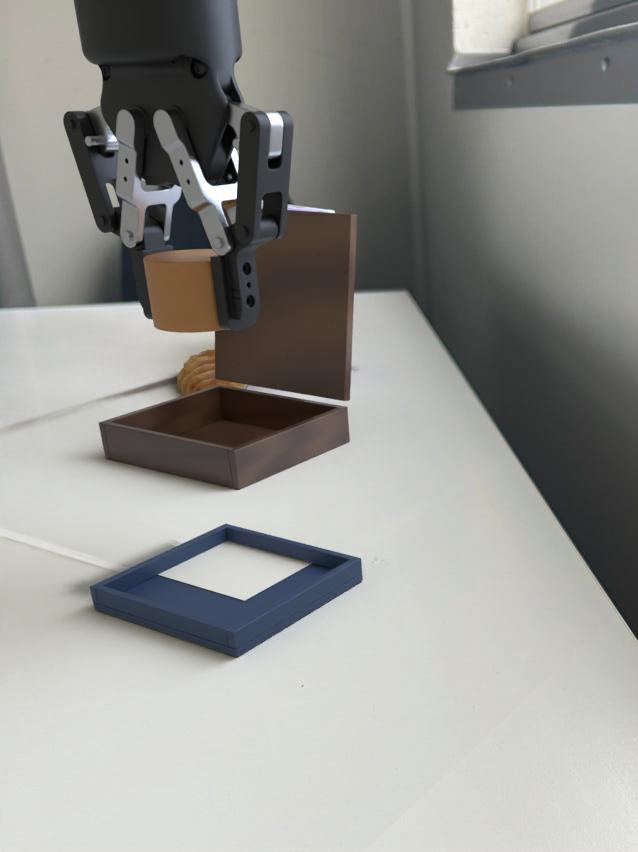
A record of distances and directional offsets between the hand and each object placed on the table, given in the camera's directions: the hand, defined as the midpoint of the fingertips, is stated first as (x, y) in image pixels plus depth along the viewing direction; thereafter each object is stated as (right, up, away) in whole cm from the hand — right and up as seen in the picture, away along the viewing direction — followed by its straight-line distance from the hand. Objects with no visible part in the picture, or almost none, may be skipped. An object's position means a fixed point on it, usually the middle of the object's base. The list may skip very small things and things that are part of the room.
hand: (200, 321), depth 56 cm
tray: (+1, -15, +5) cm, 15 cm away
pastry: (-10, +6, +43) cm, 45 cm away
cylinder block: (0, 0, 0) cm, 0 cm away
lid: (-1, +10, +27) cm, 29 cm away
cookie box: (-5, -3, +27) cm, 28 cm away
